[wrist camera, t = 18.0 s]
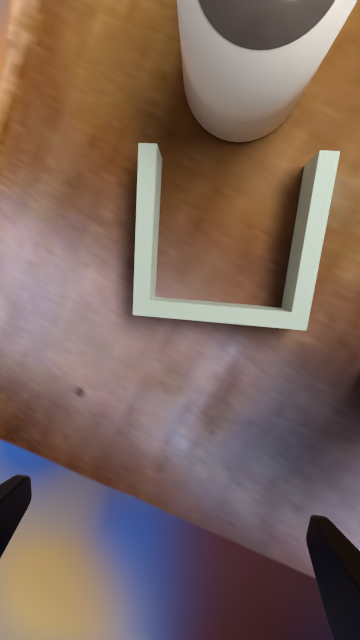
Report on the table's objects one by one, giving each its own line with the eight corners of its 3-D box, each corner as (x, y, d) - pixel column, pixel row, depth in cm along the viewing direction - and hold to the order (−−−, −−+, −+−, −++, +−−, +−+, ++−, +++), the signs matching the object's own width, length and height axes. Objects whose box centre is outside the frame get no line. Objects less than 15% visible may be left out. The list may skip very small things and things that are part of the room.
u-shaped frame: (322, 166, 17) (340, 151, 15) (294, 323, 19) (306, 330, 17) (146, 158, 17) (138, 142, 15) (139, 310, 20) (132, 315, 18)
